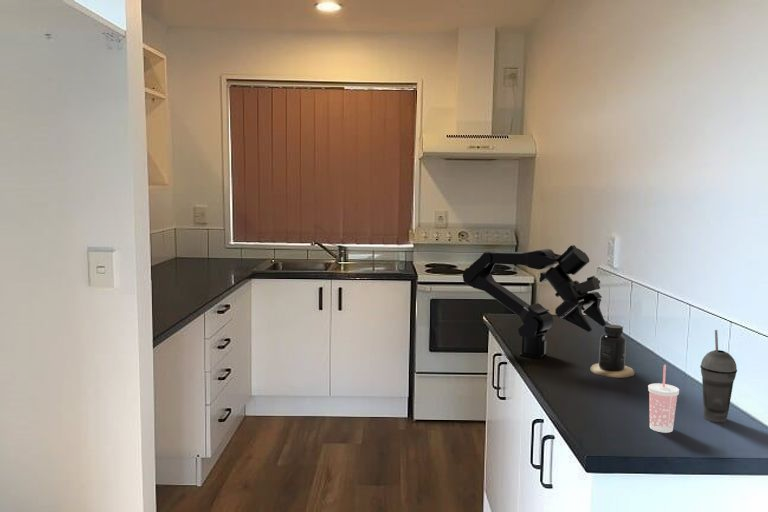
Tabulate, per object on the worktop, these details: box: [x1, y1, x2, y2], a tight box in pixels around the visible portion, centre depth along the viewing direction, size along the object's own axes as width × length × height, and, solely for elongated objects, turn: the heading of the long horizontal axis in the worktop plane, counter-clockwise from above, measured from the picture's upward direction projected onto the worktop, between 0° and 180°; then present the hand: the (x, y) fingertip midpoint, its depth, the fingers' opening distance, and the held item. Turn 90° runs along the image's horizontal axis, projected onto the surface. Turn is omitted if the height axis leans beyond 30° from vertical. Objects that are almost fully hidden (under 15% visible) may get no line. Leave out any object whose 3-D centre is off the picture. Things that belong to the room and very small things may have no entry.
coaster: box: [589, 362, 635, 379], centre depth 176 cm, size 12×12×1 cm
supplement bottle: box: [598, 324, 627, 371], centre depth 176 cm, size 7×7×12 cm
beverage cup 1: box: [647, 364, 680, 434], centre depth 135 cm, size 6×6×14 cm
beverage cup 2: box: [699, 329, 738, 423], centre depth 140 cm, size 7×7×20 cm
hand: (597, 328), depth 178 cm, fingers open, 9 cm apart
